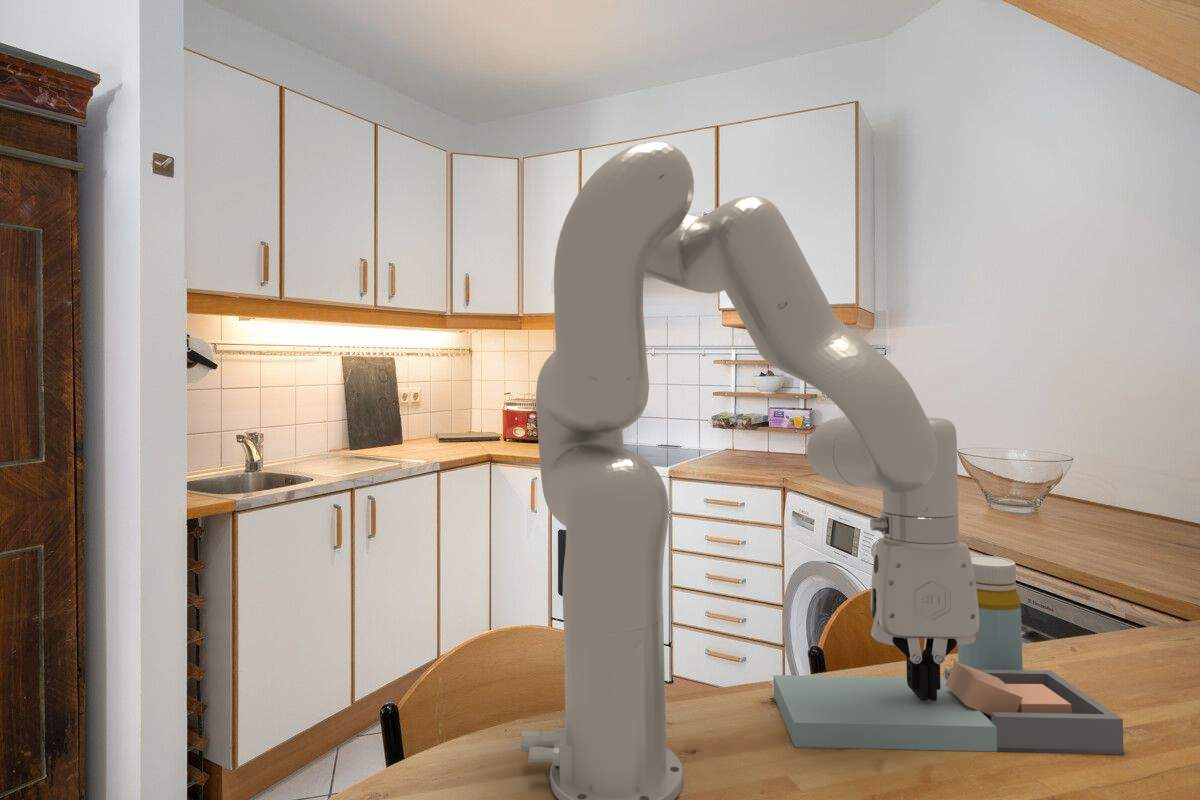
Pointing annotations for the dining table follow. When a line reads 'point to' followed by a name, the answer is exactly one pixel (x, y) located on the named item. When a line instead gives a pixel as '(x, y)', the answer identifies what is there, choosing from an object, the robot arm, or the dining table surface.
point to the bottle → (995, 617)
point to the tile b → (1040, 699)
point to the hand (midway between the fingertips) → (923, 695)
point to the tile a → (982, 690)
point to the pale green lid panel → (878, 715)
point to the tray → (1056, 720)
